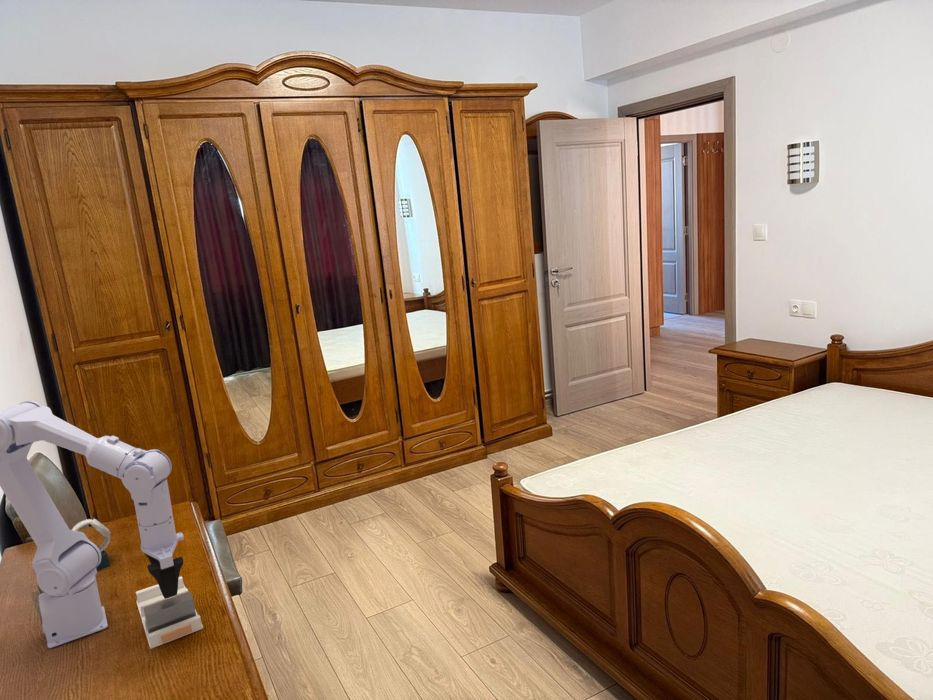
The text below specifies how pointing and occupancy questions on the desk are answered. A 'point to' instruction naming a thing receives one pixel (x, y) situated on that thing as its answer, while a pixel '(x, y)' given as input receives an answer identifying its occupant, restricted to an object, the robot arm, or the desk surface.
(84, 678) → the desk surface
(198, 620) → the rack
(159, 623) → the panel
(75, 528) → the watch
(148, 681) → the desk surface
